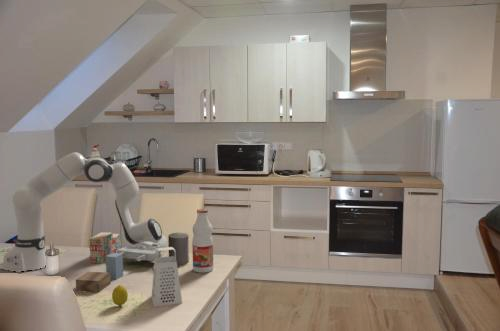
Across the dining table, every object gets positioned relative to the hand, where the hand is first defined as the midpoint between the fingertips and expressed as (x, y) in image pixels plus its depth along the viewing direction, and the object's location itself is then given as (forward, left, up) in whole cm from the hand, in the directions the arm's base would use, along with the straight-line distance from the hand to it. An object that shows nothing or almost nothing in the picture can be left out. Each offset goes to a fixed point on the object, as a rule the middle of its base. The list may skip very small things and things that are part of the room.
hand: (128, 258), depth 215 cm
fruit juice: (+33, +8, -6) cm, 35 cm away
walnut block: (-3, -24, -6) cm, 25 cm away
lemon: (+18, -39, -6) cm, 43 cm away
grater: (+32, -29, -6) cm, 43 cm away
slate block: (-1, -11, -5) cm, 12 cm away
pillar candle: (+18, +15, -6) cm, 25 cm away
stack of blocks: (-22, +16, -6) cm, 27 cm away
